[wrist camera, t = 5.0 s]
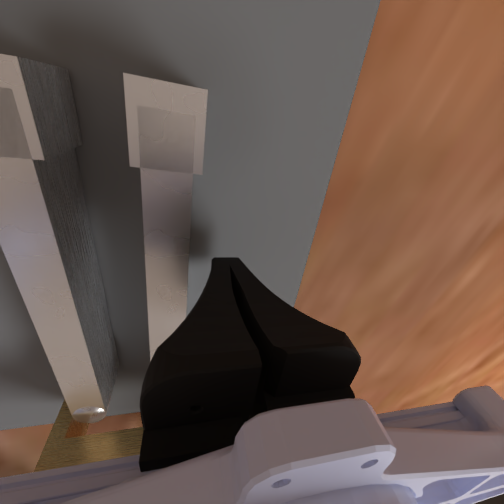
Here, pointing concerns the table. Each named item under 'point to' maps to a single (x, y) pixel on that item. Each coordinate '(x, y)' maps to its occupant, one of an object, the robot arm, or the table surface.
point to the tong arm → (165, 188)
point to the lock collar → (85, 443)
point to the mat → (214, 161)
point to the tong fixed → (53, 232)
